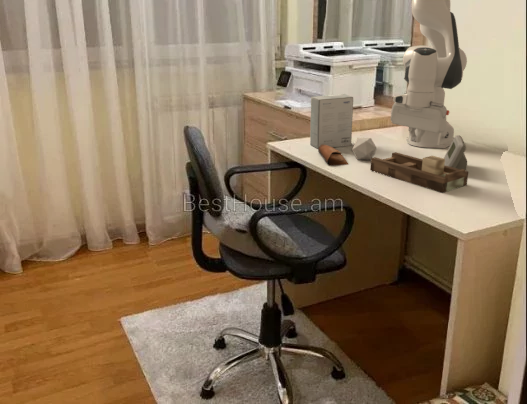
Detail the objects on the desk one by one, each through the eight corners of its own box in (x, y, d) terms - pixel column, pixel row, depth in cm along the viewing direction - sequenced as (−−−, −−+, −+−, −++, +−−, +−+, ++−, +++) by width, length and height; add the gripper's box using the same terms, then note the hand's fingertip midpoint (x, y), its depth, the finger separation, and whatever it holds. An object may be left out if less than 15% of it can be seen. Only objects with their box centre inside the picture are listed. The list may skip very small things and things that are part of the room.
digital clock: (443, 161, 213) (446, 133, 209) (469, 164, 210) (472, 135, 206) (437, 173, 199) (440, 143, 195) (464, 176, 196) (468, 146, 192)
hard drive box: (342, 141, 240) (345, 93, 234) (351, 146, 234) (354, 96, 227) (309, 144, 235) (310, 96, 228) (317, 149, 229) (319, 99, 222)
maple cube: (430, 170, 192) (432, 155, 190) (443, 173, 188) (445, 158, 187) (421, 172, 189) (422, 158, 187) (433, 176, 185) (435, 161, 184)
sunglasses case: (350, 164, 208) (341, 149, 206) (333, 174, 209) (324, 159, 207) (338, 151, 225) (331, 137, 223) (323, 160, 226) (315, 147, 223)
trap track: (394, 164, 209) (395, 149, 207) (466, 184, 187) (468, 168, 185) (370, 170, 202) (371, 155, 200) (442, 192, 179) (444, 176, 177)
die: (369, 164, 210) (383, 142, 211) (349, 152, 210) (363, 130, 211) (365, 166, 219) (378, 145, 219) (346, 154, 219) (359, 133, 219)
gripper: (453, 103, 180) (447, 146, 185) (401, 94, 196) (398, 134, 200) (440, 105, 177) (435, 149, 181) (389, 96, 192) (385, 137, 196)
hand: (415, 141), depth 191 cm, fingers closed
